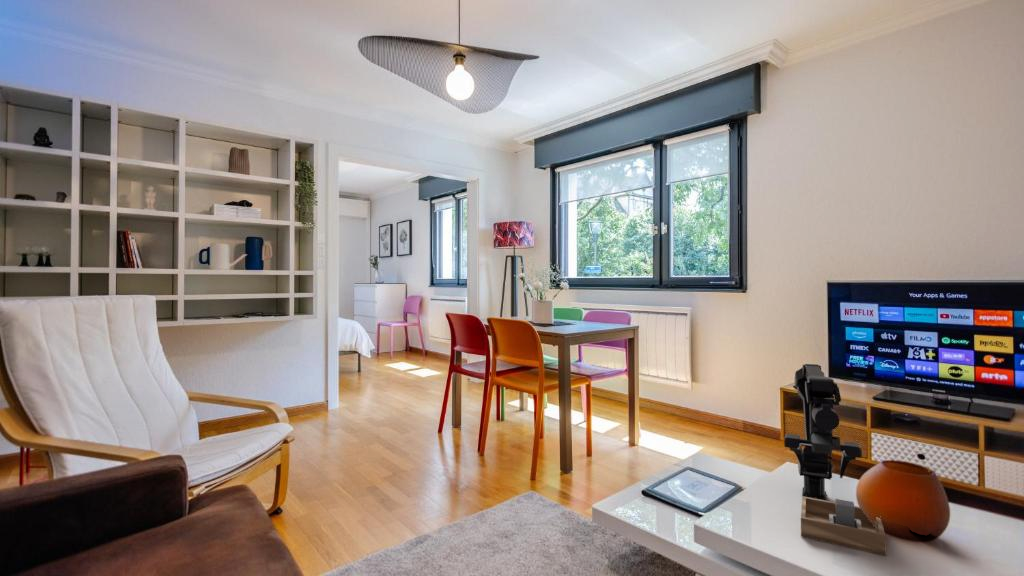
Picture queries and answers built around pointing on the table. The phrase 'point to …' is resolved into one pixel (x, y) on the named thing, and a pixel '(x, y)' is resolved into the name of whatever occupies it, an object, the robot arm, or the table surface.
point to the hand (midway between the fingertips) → (821, 474)
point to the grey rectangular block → (845, 513)
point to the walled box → (841, 527)
